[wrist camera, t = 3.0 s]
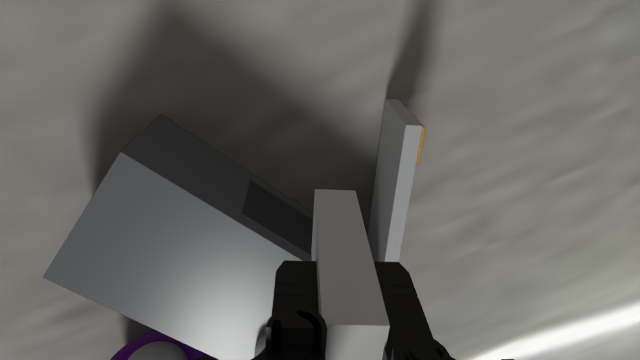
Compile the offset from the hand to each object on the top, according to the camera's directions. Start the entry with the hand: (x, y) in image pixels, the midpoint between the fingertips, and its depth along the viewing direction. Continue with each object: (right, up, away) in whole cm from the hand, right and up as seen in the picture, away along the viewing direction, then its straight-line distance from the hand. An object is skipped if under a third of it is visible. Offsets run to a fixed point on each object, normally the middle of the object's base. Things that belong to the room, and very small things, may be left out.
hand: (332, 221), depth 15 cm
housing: (-7, -2, +13) cm, 14 cm away
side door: (+4, +2, +11) cm, 12 cm away
